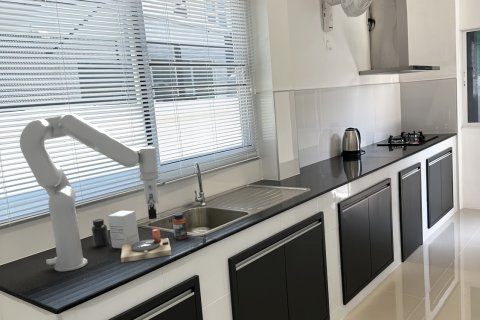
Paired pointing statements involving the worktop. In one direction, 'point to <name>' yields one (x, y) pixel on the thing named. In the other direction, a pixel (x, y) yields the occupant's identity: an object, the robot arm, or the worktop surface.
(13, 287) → the worktop surface
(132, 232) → the supplement box
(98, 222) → the supplement bottle
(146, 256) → the board
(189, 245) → the worktop surface
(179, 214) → the supplement bottle
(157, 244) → the dial
